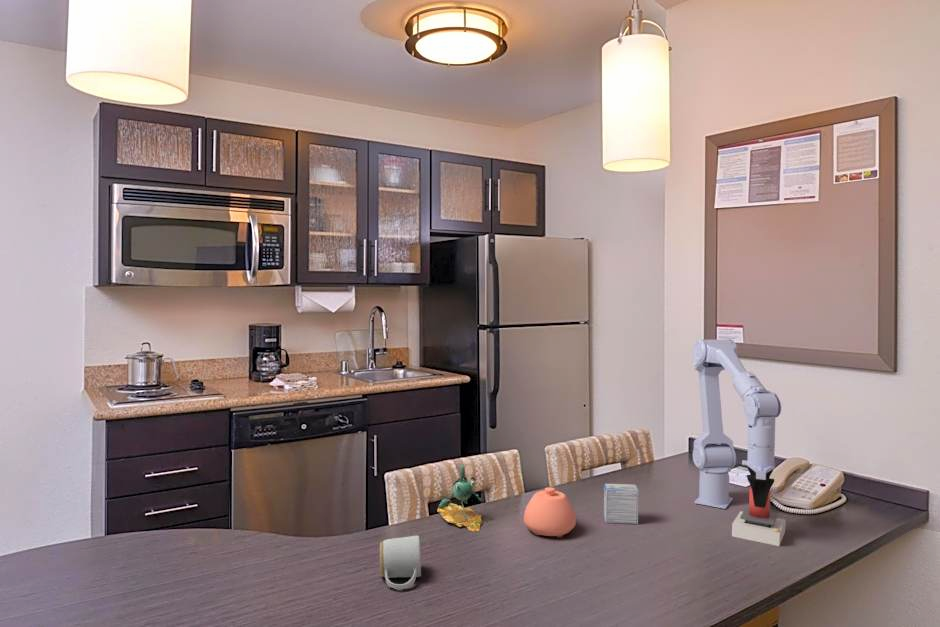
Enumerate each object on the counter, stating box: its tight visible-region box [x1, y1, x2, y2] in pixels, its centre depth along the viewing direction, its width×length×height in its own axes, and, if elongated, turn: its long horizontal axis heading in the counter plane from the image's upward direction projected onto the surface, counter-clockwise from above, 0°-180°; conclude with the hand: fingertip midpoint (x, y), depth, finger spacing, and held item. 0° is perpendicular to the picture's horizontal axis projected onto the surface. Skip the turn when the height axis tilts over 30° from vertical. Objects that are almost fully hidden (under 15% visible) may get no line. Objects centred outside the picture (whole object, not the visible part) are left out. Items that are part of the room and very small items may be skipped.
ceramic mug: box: [379, 535, 422, 590], centre depth 125 cm, size 11×8×8 cm
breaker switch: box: [740, 507, 779, 528], centre depth 149 cm, size 7×7×4 cm
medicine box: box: [603, 483, 640, 525], centre depth 157 cm, size 8×4×9 cm, turn 84°
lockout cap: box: [748, 486, 771, 518], centre depth 149 cm, size 4×4×6 cm
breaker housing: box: [731, 510, 787, 547], centre depth 149 cm, size 10×10×4 cm
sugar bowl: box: [523, 486, 577, 538], centre depth 151 cm, size 12×14×10 cm
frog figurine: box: [436, 464, 483, 532], centre depth 157 cm, size 10×18×15 cm, turn 26°
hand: (759, 501), depth 149 cm, fingers open, 7 cm apart
